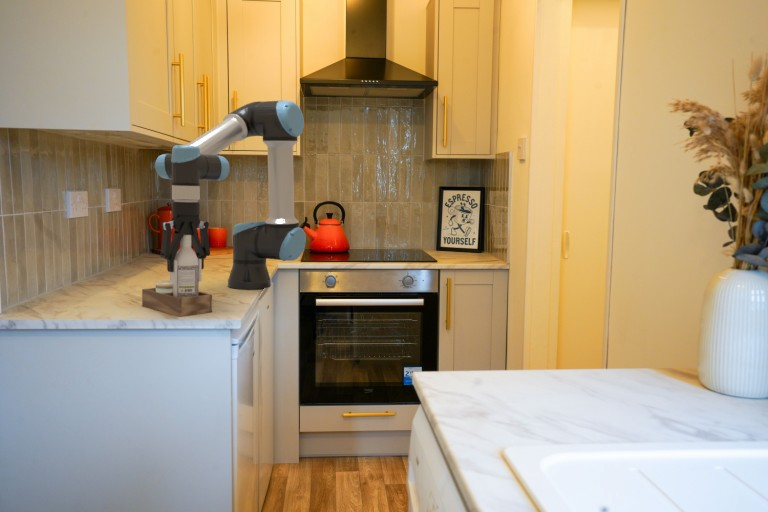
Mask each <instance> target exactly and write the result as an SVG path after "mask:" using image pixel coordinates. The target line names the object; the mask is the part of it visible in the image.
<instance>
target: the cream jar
mask: <svg viewBox="0 0 768 512" xmlns="http://www.w3.org/2000/svg"><path fill="white" fill-rule="evenodd" d="M154 285H155V286H154V288H156V292H158V293H169V292H173V283H170V280H159V281H155V283H154Z"/></svg>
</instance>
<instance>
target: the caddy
mask: <svg viewBox="0 0 768 512" xmlns="http://www.w3.org/2000/svg"><path fill="white" fill-rule="evenodd" d="M141 299H142V300H141V301H142V303H141V306H142V307H145V308H149V309H150V310H151V309H152V310H155V311H158V312H161V313H166V314H169V315H173V316H175V317H186V316H192V315H201V314H207V313H212V312H213V295H212V294H211V293H207V292H206V293H205V292H202V291H198V296H193V297H184V298H178V297H174V296H173V292H169V293H158V292H156V287H152V288H149V287H148V288H142V290H141Z"/></svg>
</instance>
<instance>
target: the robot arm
mask: <svg viewBox="0 0 768 512" xmlns="http://www.w3.org/2000/svg"><path fill="white" fill-rule="evenodd" d="M304 129H305V119H304V113H303V112H302V109H301V108H300V106H299V105H298V104H297V103H295V102H294V101H291V100H290V101H289V100H271V101H267V100H266V101H260V100H259V101H253V102H249V103H247V104H244V105H241V107H238V108H236V109H235V110H233V111H231V112H230V113H228V114H227V115H225V116H224V118H223V121H221V122H220V123H218V124H216V125H215V126H214V127H212V128H210V129H209V130H208V131H206V132H205V133H203V134H201V135H200V136H198V137H197V138H195V139H193V140H192V141H190V142H188V143H187V144H185V145H183V144H180V145H179V144H178V145H174V146H173V147H172V149H171V153H164V154H161V155H158V157H157V158H156V159H155V163H154V166H155V167H154V168H155V170H156V171H155V172H156V173H157V175H158V176H159V177H160V178H161V179H165V180H166V179H167V180H171V200H173V201H172V202H171V215H172V218H171V220H170V221H168V222H167V221H166V222H161V228H162V237H161V249H160V254H159V255H160V258H161V259H165V260H166V262H167V263H166V264H167V265H166V269H167V272H169V281H170V283H173V284H177V261H176V260H174V259H175V257H176V254H177V252H178V250H179V249H180V246H181V239H182V238H183V236H184V235H185V234H189V235H191V245H192V247H193V251H194V252H195V254H196V256H197V258H198V264H199V282H202V277H203V275H202V273H203V272H202V270H204V267H205V265H204V262H205V259H207V257H209V256H210V255H211V250H210V249H211V248H210V240H209V239H210V237H209V226H210V222H209V221H203V220H202V221H201V220H200V214H201V213H200V210H201V209H200V208H201V206H200V205H201V203H200V202H199V200H200V199H201V196H200V193H201V192H200V191H201V190H200V189H201V188H200V187H201V186H200V185H201V184H200V183H201V182H200V181H210V182H219V181H223V180H225V179H226V178H227V177H228V176H229V174H230V163H229V161H228V159H227V158H226V157H224V156H222V155H218V154H220V153H221V152H222V151H224V150H225V149H227V148H228V147H230V146H231V145H232V144H234V143H235V142H241V141H244V140H246V139H247V138H250V137H262V143H263V144H264V145H265V146H266V147H267V169H268V170H267V175H268V176H267V177H268V178H267V179H268V180H267V181H268V182H267V183H268V185H267V186H268V218H267V219H266V220H265V221H252V222H249V221H248V222H241V223H239V222H238V223H237V224H235V225H234V226H233V232H232V233H233V234H232V267H231V269H230V273H229V277H228V279H227V287H228V288H231V289H236V290H237V289H238V290H261V289H262V290H263V289H267V288H270V287H271V284H272V283H271V281H272V280H271V277H270V273H269V270H268V267H267V260H276V261H277V260H278V261H283V262H287V261H288V262H289V261H295V260H297V259H299V258H300V257H301V256H302V254H303V253H304V250H305V247H306V242H307V235H306V232H305V230H304V229H303V228H302V227H300V225H299V224H300V221H299V220H298V219H297V218H296V217H295V191H294V190H295V188H294V185H295V184H294V182H295V181H294V178H295V177H294V146H295V145H297V143H298V137H300V136H301V135H302V134H303V132H304ZM173 228H174V230H173V234H172V229H173ZM198 228H199V231H198Z"/></svg>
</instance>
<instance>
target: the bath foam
mask: <svg viewBox="0 0 768 512" xmlns="http://www.w3.org/2000/svg"><path fill="white" fill-rule="evenodd" d="M174 260H176V261H177V284H173V296H174V297H178V298H184V297H193V296H198V292H199V285H200V284H199V264H198V258H197V256H196V253H195V250H194V248H192V241H191V235H189V234H185V235H184V236H183V238H182V239H181V242H180V246H179V248H178V251H177V254H176V257H175V259H174Z"/></svg>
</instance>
